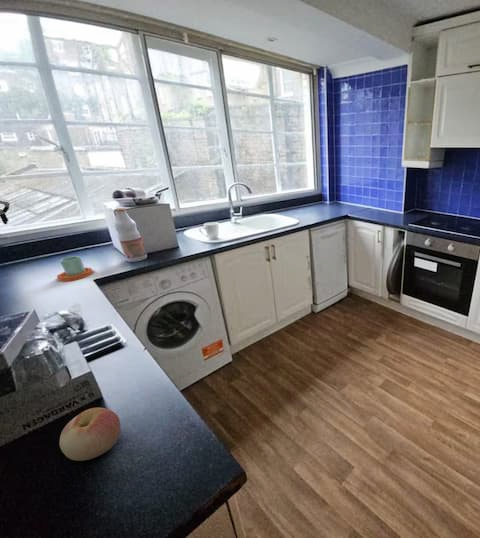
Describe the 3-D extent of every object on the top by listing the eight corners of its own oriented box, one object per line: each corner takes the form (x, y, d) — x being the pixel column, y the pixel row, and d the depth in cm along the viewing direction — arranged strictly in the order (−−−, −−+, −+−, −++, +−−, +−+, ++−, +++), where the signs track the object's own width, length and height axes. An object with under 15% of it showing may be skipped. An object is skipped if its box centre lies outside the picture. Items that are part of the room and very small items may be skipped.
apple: (106, 424, 64) (92, 397, 61) (136, 434, 62) (123, 406, 59) (59, 462, 57) (40, 434, 53) (91, 475, 54) (73, 446, 51)
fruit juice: (122, 262, 158) (103, 210, 147) (137, 256, 166) (120, 206, 155) (137, 263, 156) (118, 210, 145) (151, 256, 165) (135, 206, 154)
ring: (59, 284, 134) (57, 280, 133) (58, 276, 142) (57, 272, 141) (94, 275, 142) (92, 272, 141) (91, 269, 150) (90, 265, 149)
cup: (68, 280, 138) (60, 262, 134) (67, 276, 142) (59, 258, 139) (87, 275, 142) (80, 258, 139) (86, 271, 147) (79, 255, 143)
